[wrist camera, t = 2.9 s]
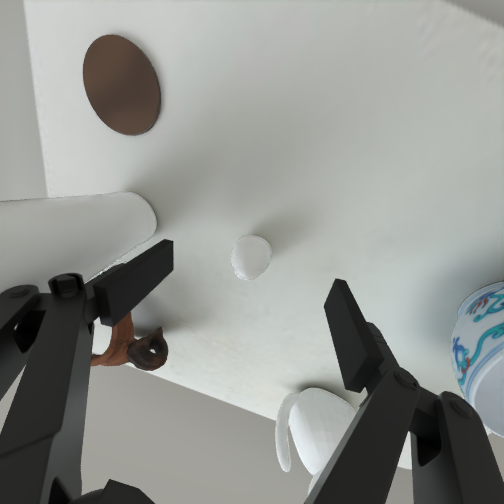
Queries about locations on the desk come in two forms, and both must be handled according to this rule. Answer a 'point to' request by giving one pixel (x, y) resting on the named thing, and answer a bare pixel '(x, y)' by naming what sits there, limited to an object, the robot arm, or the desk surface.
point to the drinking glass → (69, 236)
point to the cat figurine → (312, 428)
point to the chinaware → (482, 354)
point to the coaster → (121, 85)
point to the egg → (250, 257)
